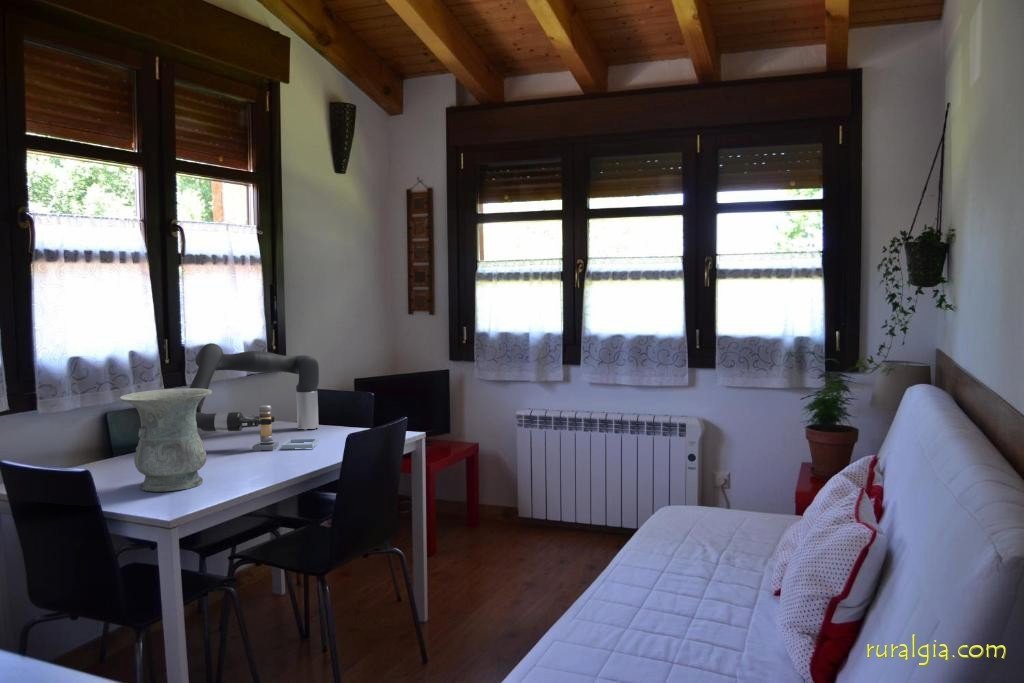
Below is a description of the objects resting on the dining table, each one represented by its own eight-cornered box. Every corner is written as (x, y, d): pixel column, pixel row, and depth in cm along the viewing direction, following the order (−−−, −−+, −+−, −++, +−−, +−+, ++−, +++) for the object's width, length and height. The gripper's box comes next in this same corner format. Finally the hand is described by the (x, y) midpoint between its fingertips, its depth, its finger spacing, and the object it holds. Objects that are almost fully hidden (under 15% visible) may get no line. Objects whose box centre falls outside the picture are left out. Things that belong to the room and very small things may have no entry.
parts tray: (289, 444, 309) (289, 439, 309) (319, 443, 310) (318, 438, 310) (281, 450, 297) (281, 445, 297) (312, 449, 298) (312, 444, 298)
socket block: (258, 447, 304) (258, 442, 304) (278, 446, 304) (278, 441, 304) (252, 451, 296) (252, 446, 296) (273, 450, 296) (273, 445, 296)
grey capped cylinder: (262, 439, 302) (260, 405, 301) (274, 439, 302) (272, 404, 301) (259, 442, 298) (257, 406, 297) (270, 441, 298) (269, 406, 297)
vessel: (112, 486, 245) (107, 393, 243) (195, 471, 264) (191, 385, 262) (142, 501, 226) (137, 401, 224) (229, 484, 244) (225, 392, 242)
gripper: (222, 415, 291) (267, 414, 292) (234, 409, 306) (277, 408, 306) (223, 434, 292) (268, 433, 293) (235, 427, 306) (278, 426, 307)
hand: (272, 420), depth 300 cm, fingers closed on grey capped cylinder, 4 cm apart
